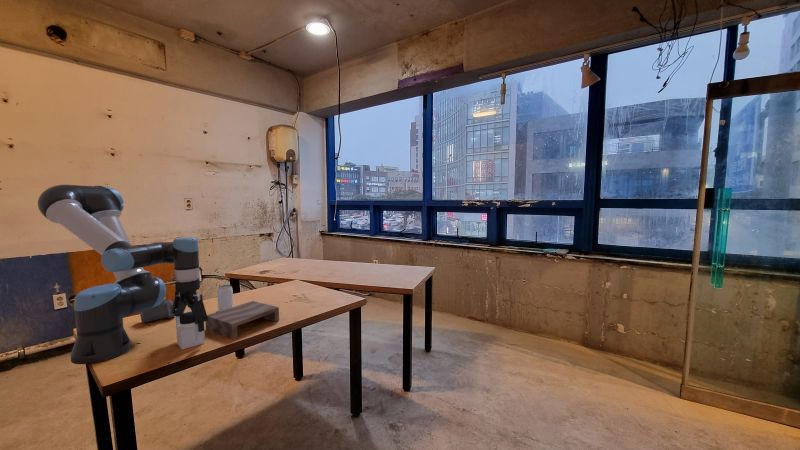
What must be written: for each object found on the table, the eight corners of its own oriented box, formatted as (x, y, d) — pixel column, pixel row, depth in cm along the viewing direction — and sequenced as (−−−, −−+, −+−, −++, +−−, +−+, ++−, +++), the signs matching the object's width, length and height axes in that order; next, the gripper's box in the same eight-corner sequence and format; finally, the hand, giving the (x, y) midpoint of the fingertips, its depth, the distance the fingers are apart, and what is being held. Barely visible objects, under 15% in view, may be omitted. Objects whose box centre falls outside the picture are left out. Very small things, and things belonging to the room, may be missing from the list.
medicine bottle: (204, 343, 116) (203, 312, 115) (181, 350, 110) (180, 317, 110) (199, 337, 121) (197, 307, 120) (176, 343, 115) (175, 312, 114)
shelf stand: (205, 329, 128) (205, 315, 128) (253, 313, 147) (252, 300, 147) (232, 339, 120) (232, 324, 119) (279, 320, 139) (278, 307, 138)
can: (236, 309, 152) (235, 285, 151) (222, 313, 147) (221, 289, 146) (228, 307, 155) (227, 284, 155) (215, 311, 150) (214, 287, 149)
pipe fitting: (174, 312, 146) (170, 292, 144) (177, 318, 141) (173, 298, 138) (141, 322, 138) (137, 301, 136) (143, 329, 133) (138, 307, 130)
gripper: (217, 281, 111) (219, 339, 113) (180, 273, 123) (183, 326, 124) (195, 286, 105) (198, 347, 106) (159, 277, 116) (162, 333, 118)
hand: (190, 336), depth 115 cm, fingers open, 12 cm apart
